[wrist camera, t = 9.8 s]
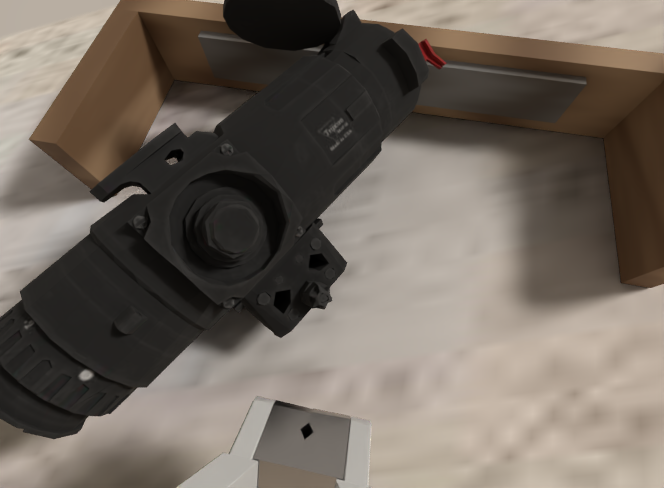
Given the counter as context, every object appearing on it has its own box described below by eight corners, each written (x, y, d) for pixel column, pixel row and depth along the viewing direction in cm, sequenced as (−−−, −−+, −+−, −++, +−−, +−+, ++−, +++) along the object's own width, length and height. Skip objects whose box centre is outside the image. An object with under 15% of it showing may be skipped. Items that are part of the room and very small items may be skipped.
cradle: (94, 191, 18) (28, 139, 14) (163, 62, 21) (125, -7, 17) (650, 287, 15) (751, 255, 11) (625, 123, 18) (696, 57, 15)
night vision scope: (149, 402, 16) (-77, 250, 12) (381, 159, 21) (275, 1, 17) (155, 544, 9) (-366, 297, 5) (497, 133, 14) (364, -140, 11)
